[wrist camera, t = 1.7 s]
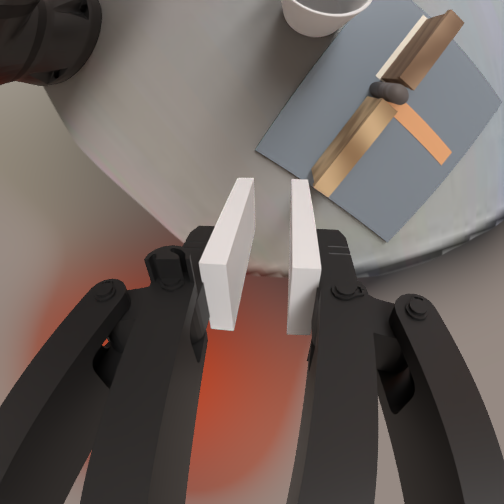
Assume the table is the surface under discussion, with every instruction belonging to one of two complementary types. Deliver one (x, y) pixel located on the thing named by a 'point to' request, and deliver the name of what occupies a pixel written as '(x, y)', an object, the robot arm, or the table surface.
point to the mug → (321, 15)
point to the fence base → (417, 58)
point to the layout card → (398, 129)
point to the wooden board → (351, 143)
